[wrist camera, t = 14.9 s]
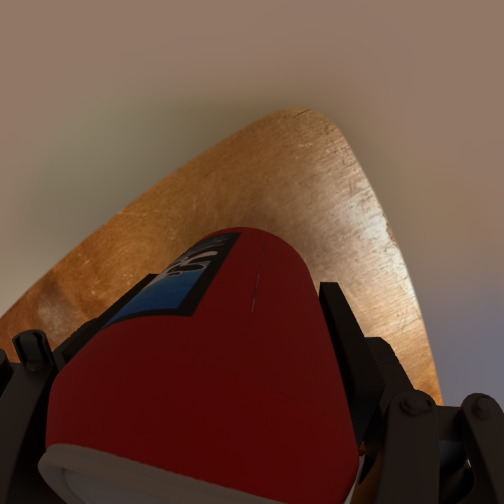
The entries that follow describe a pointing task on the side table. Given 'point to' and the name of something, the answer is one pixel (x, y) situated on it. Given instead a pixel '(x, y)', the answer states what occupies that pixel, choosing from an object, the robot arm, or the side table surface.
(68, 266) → the side table surface
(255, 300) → the beverage can
